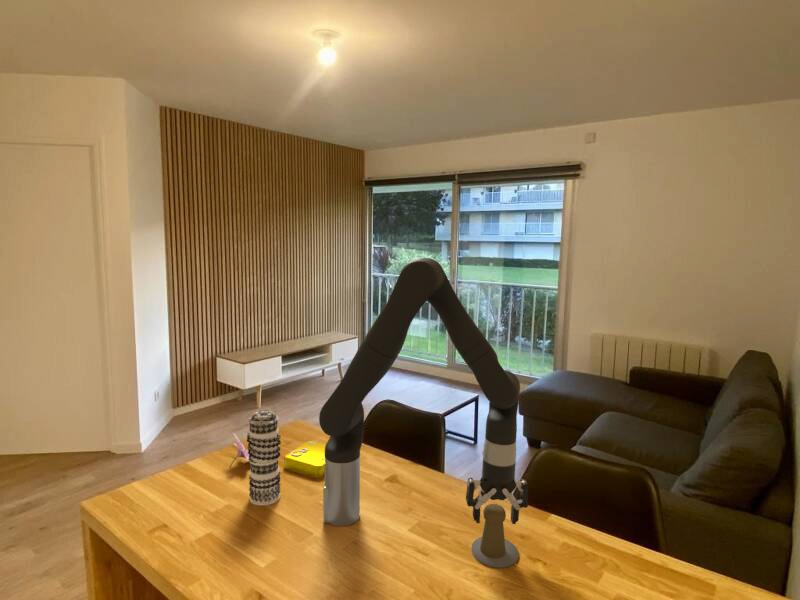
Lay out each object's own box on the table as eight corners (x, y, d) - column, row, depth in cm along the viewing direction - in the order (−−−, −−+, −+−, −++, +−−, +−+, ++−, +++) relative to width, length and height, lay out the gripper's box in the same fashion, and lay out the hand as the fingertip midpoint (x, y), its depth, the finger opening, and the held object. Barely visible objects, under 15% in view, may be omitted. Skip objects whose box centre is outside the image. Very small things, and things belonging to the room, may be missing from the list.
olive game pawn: (505, 560, 110) (508, 516, 109) (479, 556, 112) (481, 512, 110) (505, 544, 116) (507, 501, 115) (480, 540, 118) (482, 498, 116)
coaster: (475, 567, 109) (475, 565, 109) (468, 537, 120) (468, 535, 119) (523, 568, 109) (523, 566, 109) (512, 538, 120) (512, 536, 120)
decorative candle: (241, 502, 134) (238, 416, 130) (262, 486, 142) (260, 405, 139) (267, 509, 130) (266, 421, 127) (288, 493, 139) (287, 410, 135)
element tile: (320, 480, 147) (320, 465, 146) (281, 469, 154) (281, 455, 153) (346, 460, 160) (346, 447, 160) (309, 451, 167) (309, 438, 166)
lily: (243, 480, 147) (258, 451, 149) (210, 463, 148) (225, 434, 150) (255, 474, 159) (269, 447, 160) (225, 457, 160) (239, 431, 162)
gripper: (471, 464, 107) (467, 530, 109) (534, 465, 107) (529, 532, 110) (466, 449, 115) (463, 512, 117) (525, 450, 115) (521, 513, 117)
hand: (495, 521), depth 113 cm, fingers open, 8 cm apart
